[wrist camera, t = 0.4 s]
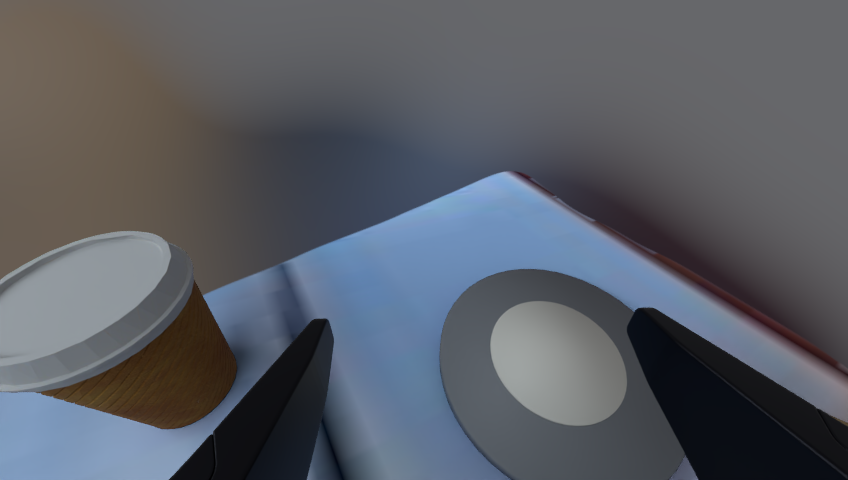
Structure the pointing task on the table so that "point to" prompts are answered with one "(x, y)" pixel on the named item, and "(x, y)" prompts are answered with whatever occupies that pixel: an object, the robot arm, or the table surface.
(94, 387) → the disposable coffee cup
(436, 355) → the table surface
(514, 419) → the disc
